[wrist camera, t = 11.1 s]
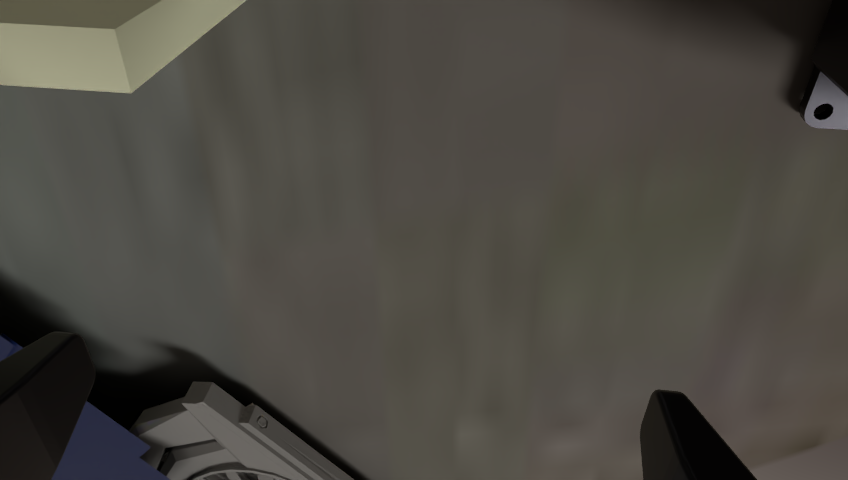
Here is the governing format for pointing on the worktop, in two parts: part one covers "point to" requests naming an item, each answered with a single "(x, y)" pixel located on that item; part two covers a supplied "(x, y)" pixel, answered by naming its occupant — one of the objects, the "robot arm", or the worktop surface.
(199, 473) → the graphics card
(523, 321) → the worktop surface
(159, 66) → the equipment case
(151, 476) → the navy flat panel
